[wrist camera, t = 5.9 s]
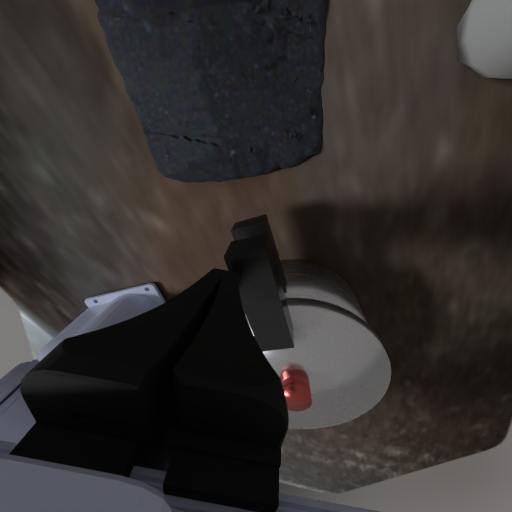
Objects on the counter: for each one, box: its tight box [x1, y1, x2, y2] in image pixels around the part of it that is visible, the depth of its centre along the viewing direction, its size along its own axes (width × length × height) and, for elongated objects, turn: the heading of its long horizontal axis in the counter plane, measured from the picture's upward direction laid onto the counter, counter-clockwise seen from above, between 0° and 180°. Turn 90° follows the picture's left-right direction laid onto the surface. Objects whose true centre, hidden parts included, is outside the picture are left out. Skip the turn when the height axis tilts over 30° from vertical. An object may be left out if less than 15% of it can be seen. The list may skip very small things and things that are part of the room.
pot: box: [231, 214, 368, 324], centre depth 21 cm, size 20×14×6 cm
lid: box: [224, 233, 391, 429], centre depth 17 cm, size 20×15×3 cm
